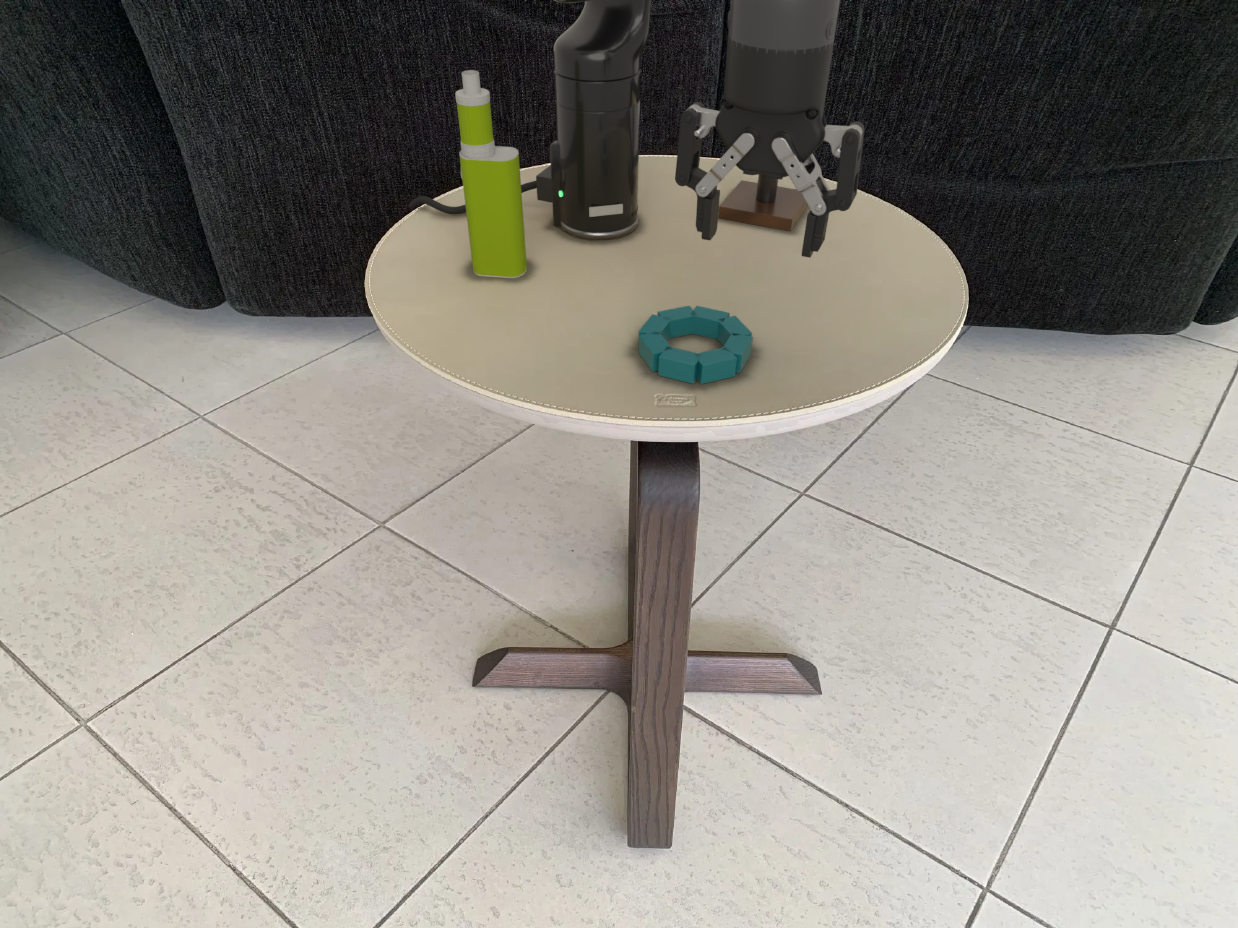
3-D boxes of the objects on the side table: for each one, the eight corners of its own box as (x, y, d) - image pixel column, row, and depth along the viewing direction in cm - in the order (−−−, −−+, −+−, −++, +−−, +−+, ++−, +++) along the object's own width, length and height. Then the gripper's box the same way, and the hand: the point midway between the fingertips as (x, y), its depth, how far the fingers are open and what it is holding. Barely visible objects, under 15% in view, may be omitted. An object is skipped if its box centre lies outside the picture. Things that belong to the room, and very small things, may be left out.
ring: (624, 367, 76) (624, 348, 75) (664, 316, 83) (664, 298, 82) (728, 393, 73) (730, 374, 72) (760, 338, 80) (763, 319, 79)
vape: (477, 259, 92) (455, 66, 79) (530, 263, 92) (516, 69, 79) (468, 275, 89) (443, 77, 77) (522, 279, 89) (507, 80, 76)
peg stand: (718, 218, 101) (729, 90, 92) (740, 191, 107) (752, 69, 98) (790, 231, 98) (809, 101, 89) (808, 203, 105) (828, 79, 95)
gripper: (891, 29, 60) (851, 241, 70) (703, 12, 64) (691, 214, 74) (873, 54, 54) (833, 280, 65) (669, 34, 59) (661, 248, 69)
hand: (757, 244), depth 70 cm, fingers open, 8 cm apart
